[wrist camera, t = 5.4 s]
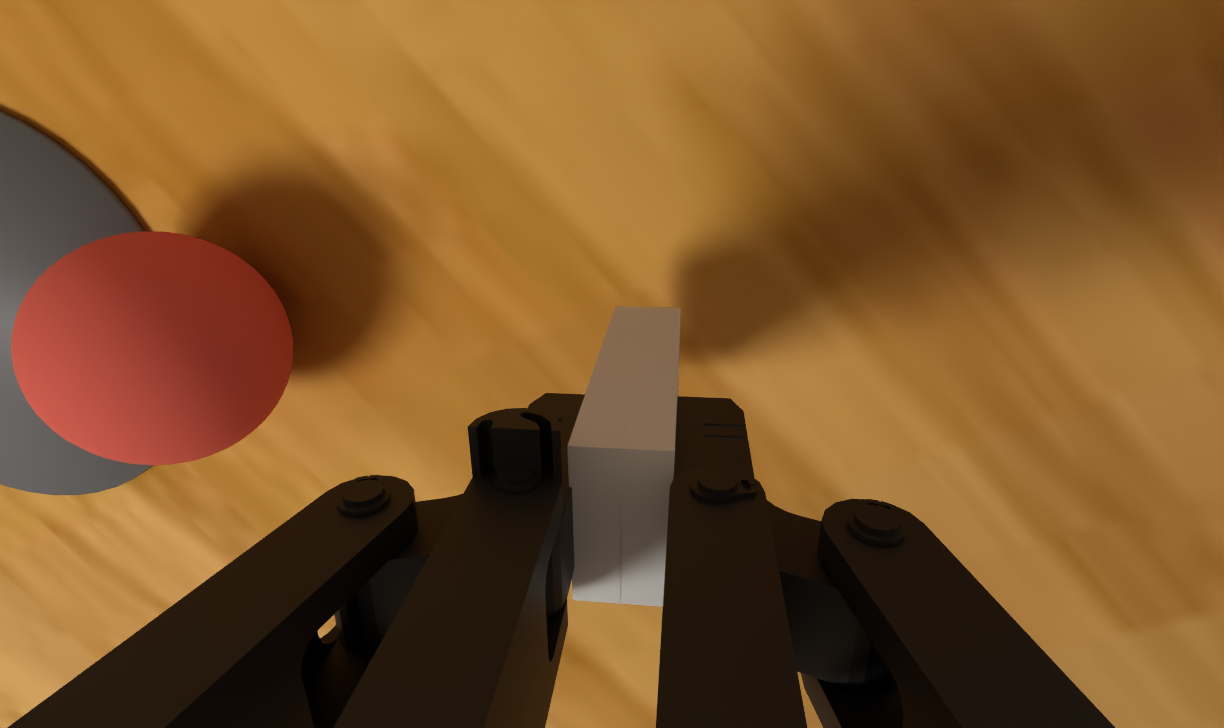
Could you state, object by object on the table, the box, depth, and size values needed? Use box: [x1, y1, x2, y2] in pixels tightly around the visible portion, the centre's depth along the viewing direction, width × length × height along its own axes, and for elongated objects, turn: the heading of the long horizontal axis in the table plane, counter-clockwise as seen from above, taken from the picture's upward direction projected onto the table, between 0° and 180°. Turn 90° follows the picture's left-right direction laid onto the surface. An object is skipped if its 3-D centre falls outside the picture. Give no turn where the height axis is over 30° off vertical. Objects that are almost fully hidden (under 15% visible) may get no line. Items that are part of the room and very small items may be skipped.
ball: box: [11, 232, 293, 465], centre depth 16 cm, size 6×6×6 cm
